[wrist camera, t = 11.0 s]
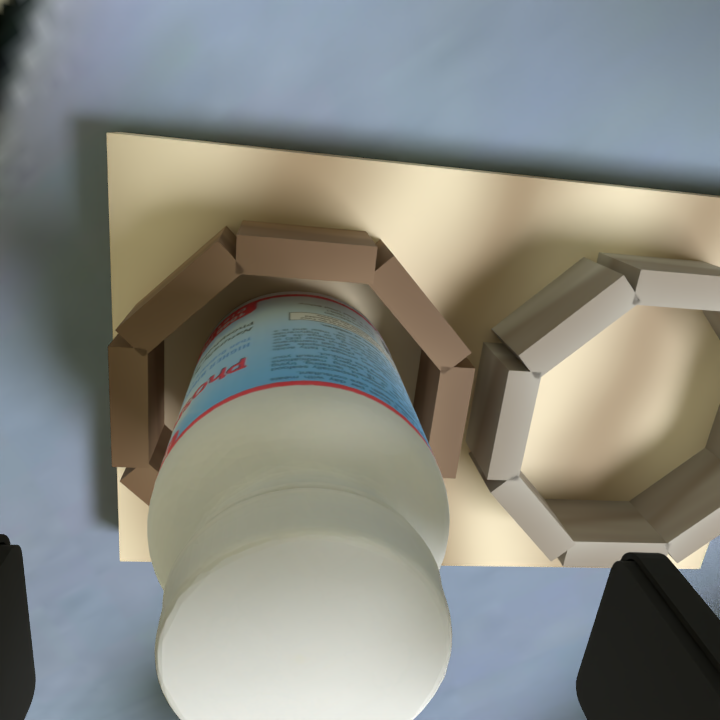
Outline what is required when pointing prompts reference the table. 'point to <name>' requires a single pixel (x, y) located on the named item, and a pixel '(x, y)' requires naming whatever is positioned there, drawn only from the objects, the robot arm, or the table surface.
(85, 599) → the table surface
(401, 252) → the holder board
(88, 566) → the table surface
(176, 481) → the pill bottle
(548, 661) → the table surface
